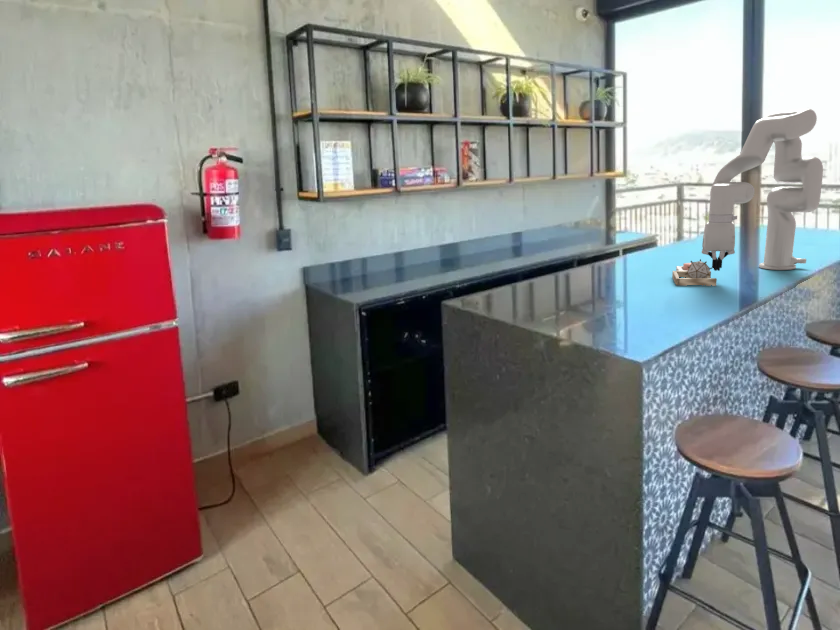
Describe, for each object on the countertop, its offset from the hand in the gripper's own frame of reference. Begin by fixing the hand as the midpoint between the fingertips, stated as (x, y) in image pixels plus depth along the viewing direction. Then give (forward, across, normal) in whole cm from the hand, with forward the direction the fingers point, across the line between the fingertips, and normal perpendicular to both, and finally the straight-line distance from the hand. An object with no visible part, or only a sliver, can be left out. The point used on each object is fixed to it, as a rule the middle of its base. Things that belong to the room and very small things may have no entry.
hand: (716, 269), depth 212 cm
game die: (+5, +6, 0) cm, 8 cm away
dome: (+3, +7, -13) cm, 15 cm away
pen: (+4, +7, 0) cm, 8 cm away
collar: (+4, +7, -13) cm, 15 cm away
